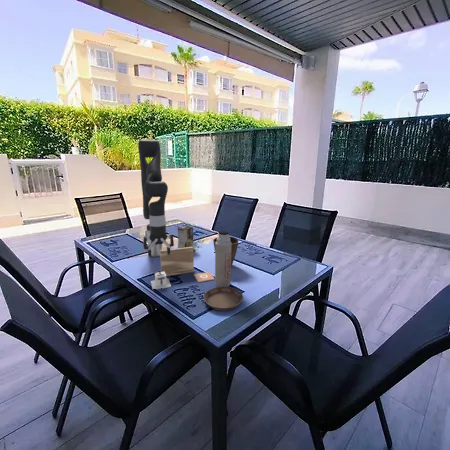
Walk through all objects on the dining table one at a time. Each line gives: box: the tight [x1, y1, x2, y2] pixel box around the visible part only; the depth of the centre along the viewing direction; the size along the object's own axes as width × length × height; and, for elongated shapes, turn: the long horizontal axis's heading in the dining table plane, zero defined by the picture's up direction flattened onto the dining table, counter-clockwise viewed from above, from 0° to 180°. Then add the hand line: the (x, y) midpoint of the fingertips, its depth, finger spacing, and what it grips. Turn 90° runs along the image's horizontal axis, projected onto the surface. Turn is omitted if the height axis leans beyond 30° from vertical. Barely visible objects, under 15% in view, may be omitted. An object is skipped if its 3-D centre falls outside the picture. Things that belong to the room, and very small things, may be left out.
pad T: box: [150, 277, 172, 290], centre depth 132 cm, size 9×9×1 cm
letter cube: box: [154, 271, 167, 286], centre depth 131 cm, size 5×5×5 cm
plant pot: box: [212, 236, 239, 267], centre depth 154 cm, size 15×15×16 cm
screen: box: [159, 246, 195, 277], centre depth 144 cm, size 5×18×14 cm, turn 112°
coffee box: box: [177, 225, 194, 248], centre depth 179 cm, size 9×6×16 cm
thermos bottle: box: [214, 230, 232, 287], centre depth 130 cm, size 8×8×28 cm
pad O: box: [193, 271, 215, 283], centre depth 140 cm, size 9×9×1 cm
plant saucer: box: [203, 286, 244, 312], centre depth 117 cm, size 18×18×3 cm
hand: (159, 255), depth 128 cm, fingers open, 8 cm apart
